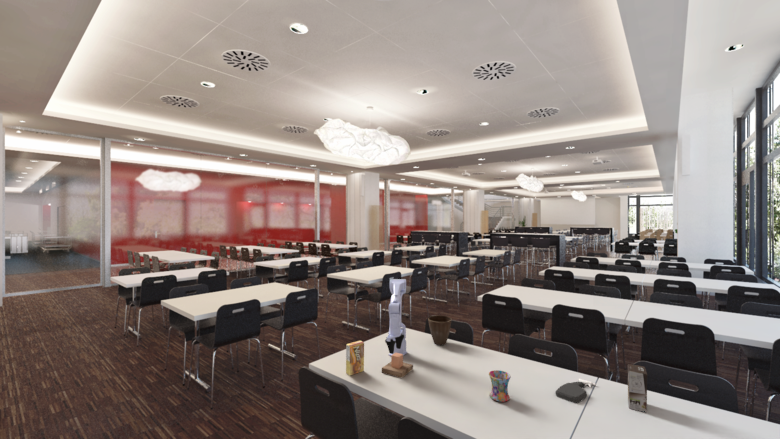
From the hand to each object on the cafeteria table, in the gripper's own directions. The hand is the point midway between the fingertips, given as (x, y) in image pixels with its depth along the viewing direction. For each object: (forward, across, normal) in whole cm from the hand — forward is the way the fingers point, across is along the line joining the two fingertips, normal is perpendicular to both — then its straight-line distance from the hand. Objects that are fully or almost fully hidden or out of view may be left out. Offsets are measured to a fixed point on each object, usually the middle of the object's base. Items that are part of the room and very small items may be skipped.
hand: (395, 350), depth 186 cm
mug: (+10, +1, +55) cm, 56 cm away
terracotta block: (+7, +1, +2) cm, 8 cm away
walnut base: (+10, +1, +2) cm, 11 cm away
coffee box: (+10, -22, +108) cm, 110 cm away
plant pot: (+10, -48, +6) cm, 49 cm away
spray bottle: (+10, -23, +85) cm, 88 cm away
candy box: (+10, +14, -16) cm, 23 cm away
